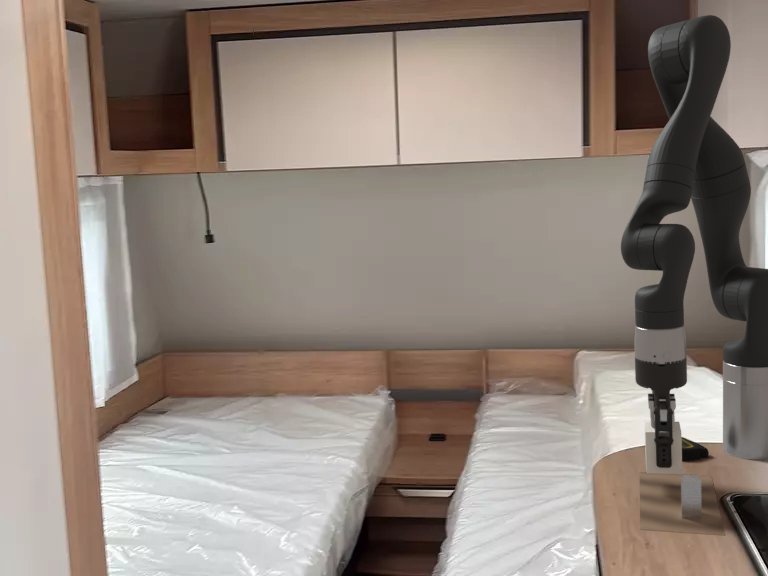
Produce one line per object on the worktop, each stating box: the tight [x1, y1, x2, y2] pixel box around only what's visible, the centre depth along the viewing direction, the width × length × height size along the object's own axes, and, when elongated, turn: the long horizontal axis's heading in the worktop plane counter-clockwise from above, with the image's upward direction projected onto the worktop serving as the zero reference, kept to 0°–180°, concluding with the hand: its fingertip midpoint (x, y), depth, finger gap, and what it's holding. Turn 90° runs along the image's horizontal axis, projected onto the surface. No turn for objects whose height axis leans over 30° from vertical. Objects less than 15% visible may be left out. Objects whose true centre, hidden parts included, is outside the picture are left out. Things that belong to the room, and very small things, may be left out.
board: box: [639, 471, 726, 536], centre depth 125 cm, size 22×11×2 cm, turn 163°
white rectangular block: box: [644, 420, 683, 474], centre depth 129 cm, size 5×5×7 cm
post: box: [681, 474, 701, 519], centre depth 119 cm, size 3×3×6 cm
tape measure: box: [681, 436, 710, 462], centre depth 143 cm, size 7×7×4 cm
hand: (663, 459), depth 129 cm, fingers closed on white rectangular block, 5 cm apart
